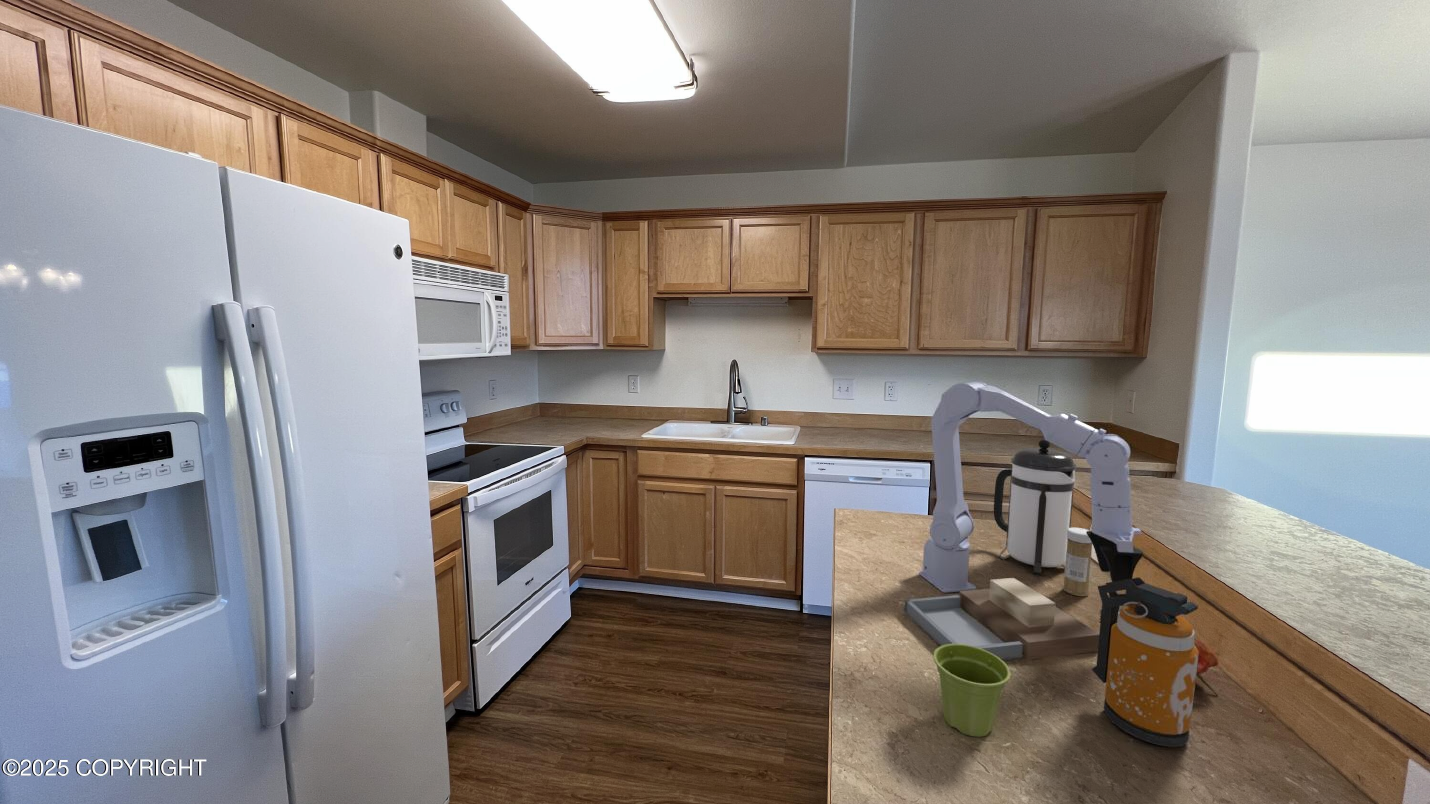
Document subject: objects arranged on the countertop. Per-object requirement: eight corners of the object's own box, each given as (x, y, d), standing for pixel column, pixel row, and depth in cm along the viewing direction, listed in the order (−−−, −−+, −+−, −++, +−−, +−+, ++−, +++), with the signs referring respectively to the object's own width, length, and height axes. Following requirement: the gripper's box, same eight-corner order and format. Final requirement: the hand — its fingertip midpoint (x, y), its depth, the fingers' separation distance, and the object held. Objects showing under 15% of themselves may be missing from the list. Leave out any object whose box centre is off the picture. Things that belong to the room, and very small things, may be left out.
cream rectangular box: (988, 599, 100) (990, 579, 100) (1011, 597, 101) (1013, 577, 101) (1028, 627, 90) (1030, 605, 90) (1053, 624, 91) (1055, 603, 91)
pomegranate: (1215, 695, 81) (1159, 632, 87) (1254, 679, 76) (1191, 614, 82) (1182, 710, 79) (1127, 645, 85) (1220, 695, 74) (1158, 626, 80)
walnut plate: (958, 605, 104) (959, 591, 103) (1020, 599, 106) (1021, 585, 106) (1027, 659, 86) (1028, 642, 86) (1099, 650, 89) (1101, 634, 88)
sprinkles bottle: (1092, 593, 109) (1098, 531, 107) (1082, 599, 106) (1088, 536, 105) (1068, 585, 113) (1073, 525, 111) (1058, 590, 110) (1063, 529, 109)
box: (904, 612, 101) (905, 599, 101) (957, 607, 103) (958, 595, 103) (960, 665, 85) (960, 650, 84) (1021, 657, 87) (1022, 643, 86)
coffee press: (1071, 558, 127) (1081, 437, 123) (1074, 583, 113) (1086, 448, 110) (991, 543, 136) (998, 430, 133) (985, 565, 123) (993, 440, 119)
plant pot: (922, 695, 77) (925, 640, 76) (988, 700, 76) (992, 644, 75) (943, 744, 68) (946, 682, 67) (1019, 750, 67) (1023, 687, 66)
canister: (1168, 761, 65) (1185, 610, 63) (1074, 706, 75) (1085, 574, 73) (1201, 736, 69) (1218, 593, 67) (1107, 687, 79) (1119, 561, 77)
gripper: (1154, 515, 84) (1158, 597, 85) (1125, 494, 98) (1128, 566, 98) (1101, 514, 87) (1105, 593, 88) (1080, 494, 100) (1083, 563, 101)
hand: (1114, 579), depth 93 cm, fingers open, 7 cm apart
